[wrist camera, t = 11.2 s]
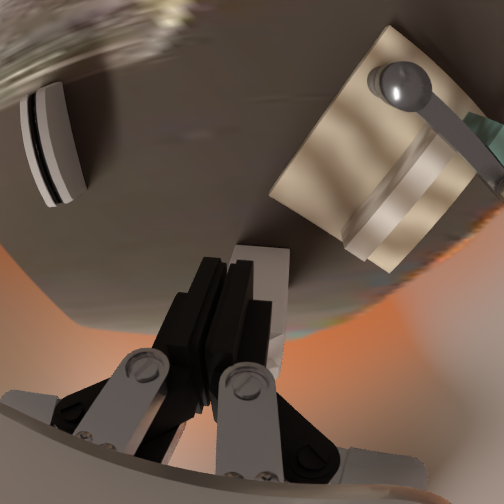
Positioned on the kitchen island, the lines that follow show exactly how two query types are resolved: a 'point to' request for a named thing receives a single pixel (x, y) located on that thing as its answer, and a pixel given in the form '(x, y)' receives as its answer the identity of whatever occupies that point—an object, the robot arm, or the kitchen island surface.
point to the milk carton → (270, 293)
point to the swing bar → (438, 118)
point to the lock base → (382, 161)
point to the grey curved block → (51, 145)
